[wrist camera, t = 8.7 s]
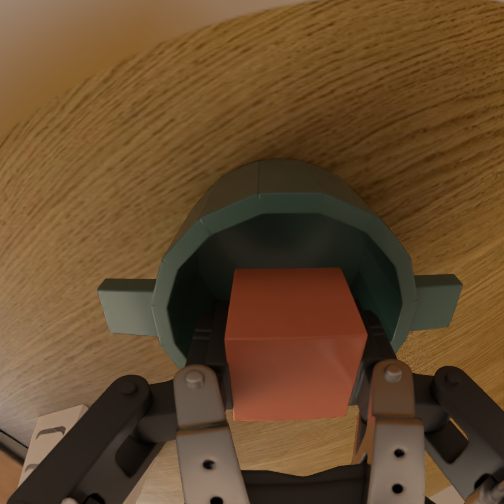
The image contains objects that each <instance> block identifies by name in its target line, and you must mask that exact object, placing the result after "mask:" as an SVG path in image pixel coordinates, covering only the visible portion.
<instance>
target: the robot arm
mask: <svg viewBox="0 0 504 504" xmlns="http://www.w3.org/2000/svg"><path fill="white" fill-rule="evenodd" d="M353 299H354V301H355V304H356V306H357V309H358V311H359V314H360V316H361V319H362V321H363V324H364V326H365V329H366V331H367V334H368V336H367V340H366V345H365V349H364V353H363V357H362V359H361V361H360V365H359V369H358V373H357V376H356V380H355V383H354V387H353V390H352V394H351V397H350V401H349V406H352V405H358V407H359V414H358V417H357V424H356V433H355V441H354V449H353V457H352V462H351V465H345V466H338V467H335V468H332V469H329V470H326V471H323V472H319V473H316V474H313V475H309V476H304V477H302V476H295V475H290V474H284V473H279V472H273V471H268V470H241V469H240V466H239V462H238V458H237V454H236V451H235V447H234V443H233V439H232V435H231V431H230V427H229V424H228V422H227V419H226V415H225V412H226V409H233V403H232V394H231V385H230V376H229V367H228V363H227V359H226V349H225V340H224V339H225V332H226V325H227V318H228V312H229V305H230V300H218V301H217V305H216V310H215V313H204V314H203V315H202V316H201V317H200V318H199V319H198V320H197V323H196V326H195V332H194V334H193V339H192V341H191V345H190V349H189V352H188V356H187V360H186V364H185V367H183V368H182V369H180V370H179V371H178V372H177V373H176V374H175V376H174V379H172V380H169V381H166V382H161V383H156V384H150V385H149V384H148V382H147V381H146V379H144V378H143V377H141V376H138V375H126V376H122V377H120V378H118V379H117V380H115V381H114V382H113V383H112V384H111V385H110V386H109V387H108V388H107V390H106V391H105V392H104V393H103V394H102V395H101V396H100V397H99V398H98V399H97V400H96V402H95V403H94V404H93V405H92V406H91V407H90V408H89V409H88V410H87V411H86V413H85V414H84V415H83V416H82V417H81V418H80V419H79V420H78V421H77V422H76V424H75V425H74V426H73V427H72V428H71V429H70V430H69V431H68V432H67V434H66V435H65V436H64V437H63V438H62V439H61V440H60V441H59V442H58V444H57V445H56V446H55V447H54V448H53V449H52V450H51V451H50V452H49V454H48V455H47V456H46V457H45V458H44V459H43V460H42V461H41V463H40V464H39V465H38V466H37V467H36V468H35V469H34V470H33V471H32V473H31V474H30V475H29V476H28V477H27V478H26V479H25V481H24V482H23V483H22V484H21V485H20V486H19V487H18V488H17V490H16V491H15V492H14V493H13V494H12V495H11V496H10V498H9V499H8V501H7V503H6V504H123V502H124V501H125V500H126V498H127V497H128V496H129V494H130V493H131V491H132V490H133V489H134V487H135V486H136V484H137V483H138V481H139V480H140V479H141V477H142V476H143V474H144V473H145V471H146V470H147V469H148V467H149V466H150V464H151V463H152V461H153V460H154V459H155V457H156V456H157V454H158V453H159V451H160V450H161V448H162V447H163V446H164V444H165V443H166V441H169V440H175V439H176V444H177V452H178V460H179V468H180V475H181V482H182V489H183V496H184V502H185V503H184V504H435V503H434V502H433V501H431V500H430V499H429V498H427V497H426V496H425V450H426V452H427V453H428V454H429V455H430V457H431V458H432V459H433V461H434V462H435V463H436V464H437V466H438V467H439V468H440V470H441V471H442V472H443V473H444V475H445V476H446V477H447V479H448V480H449V481H450V483H451V484H452V485H453V486H454V488H455V489H456V490H457V492H458V493H459V494H460V496H461V497H462V498H463V500H464V501H465V503H464V504H504V411H503V410H502V409H501V408H500V407H499V406H498V405H497V404H496V403H495V402H494V401H493V400H492V399H491V398H490V397H489V396H488V395H487V394H486V393H485V392H484V391H483V390H482V389H481V388H480V387H479V386H478V385H477V384H476V383H475V382H474V381H473V380H472V379H471V378H470V377H469V376H468V375H467V374H466V373H465V372H464V371H463V370H461V369H459V368H457V367H454V366H444V367H441V368H439V369H438V370H437V371H436V373H435V375H434V376H429V375H421V374H415V373H412V371H411V369H410V367H409V366H408V365H407V364H406V363H404V362H402V361H400V360H397V357H396V355H395V353H394V350H393V348H392V346H391V344H390V341H389V339H388V337H387V335H386V332H385V330H384V328H383V326H382V324H381V321H380V319H379V317H378V316H377V315H375V314H374V313H373V312H372V311H371V310H363V309H362V306H361V304H360V302H359V300H358V298H353ZM450 418H452V419H453V420H454V421H455V422H456V423H457V425H458V426H459V427H460V428H461V429H462V430H463V431H464V433H465V434H466V435H467V437H468V440H467V439H466V438H465V437H464V436H463V434H462V433H461V432H460V431H459V430H458V429H457V427H456V426H455V425H454V424H453V423H452V422H451V421H450Z"/></svg>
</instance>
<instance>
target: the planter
mask: <svg viewBox="0 0 504 504" xmlns="http://www.w3.org/2000/svg"><path fill="white" fill-rule="evenodd" d="M27 452H28V449H27V448H25V447H24V446H22V445H21V444H19V443H18V442H16V441H15V440H13V439H12V438H10V437H8V436H7V435H5V434H3V433H2V432H0V504H6V503H7V501H8V499H9V498H10V496H11V495H12V494H13V493H14V492H15V491H16V490H17V488H18V485H19V481H20V477H21V473H22V469H23V466H24V462H25V459H26V455H27Z"/></svg>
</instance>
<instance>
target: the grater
mask: <svg viewBox="0 0 504 504" xmlns="http://www.w3.org/2000/svg"><path fill="white" fill-rule="evenodd" d="M88 409H89V408H88V407H86V406H85V405H84V404H81V405H78V406H75V407H71V408H68V409H65V410H61V411H58V412H54V413H50V414H47V415H43V416H39V418H38V421H37V424H36V427H35V430H34V433H33V436H32V439H31V442H30V445H29V449H28V452H27V455H26V459H25V462H24V466H23V469H22V473H21V477H20V481H19V485H18V487H19V486H20V485H21V484H22V483H23V482H24V481H25V479H26V478H27V477H28V476H29V475H30V474H31V473H32V471H33V470H34V469H35V468H36V467H37V466H38V465H39V464H40V463H41V461H42V460H43V459H44V458H45V457H46V456H47V455H48V454H49V452H50V451H51V450H52V449H53V448H54V447H55V446H56V445H57V444H58V442H59V441H60V440H61V439H62V438H63V437H64V436H65V435H66V434H67V432H68V431H69V430H70V429H71V428H72V427H73V426H74V425H75V424H76V422H77V421H78V420H79V419H80V418H81V417H82V416H83V415H84V414H85V413H86V411H87V410H88ZM60 426H64V427H65V428H66V430H65V433H64V434H63V433H62V432H61V431H60V432H57V431H56V430H54V429H53V428H55V427H60ZM154 460H155V459H154ZM154 460H153V461H152V463H151V464H150V466H149V467H148V469H147V470H146V471H145V473H144V474H143V476H142V477H141V479H140V480H139V481H138V483H137V484H136V486H135V487H134V489H133V490H132V491H131V493H130V494H129V496H128V497H127V498H126V500H125V501H124V502H123V504H135V503H136V501H137V499H138V496H139V494H140V492H141V489H142V487H143V485H144V483H145V480H146V478H147V476H148V474H149V471H150V469H151V467H152V465H153V462H154Z"/></svg>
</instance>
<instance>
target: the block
mask: <svg viewBox="0 0 504 504" xmlns="http://www.w3.org/2000/svg"><path fill="white" fill-rule="evenodd" d="M367 336H368V334H367V331H366V329H365V326H364V324H363V321H362V319H361V316H360V314H359V311H358V309H357V306H356V304H355V301H354V299H353V296H352V294H351V291H350V289H349V287H348V284H347V282H346V279H345V277H344V275H343V272H342V270H341V268H339V267H337V268H272V269H235V272H234V278H233V285H232V292H231V298H230V305H229V312H228V318H227V325H226V332H225V339H224V340H225V349H226V359H227V363H228V367H229V376H230V385H231V394H232V403H233V409H232V411H233V419H234V420H237V421H281V420H306V419H322V418H335V417H344V416H346V413H347V410H348V406H349V401H350V397H351V394H352V390H353V387H354V383H355V380H356V376H357V373H358V369H359V365H360V361H361V359H362V357H363V353H364V349H365V345H366V340H367Z"/></svg>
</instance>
